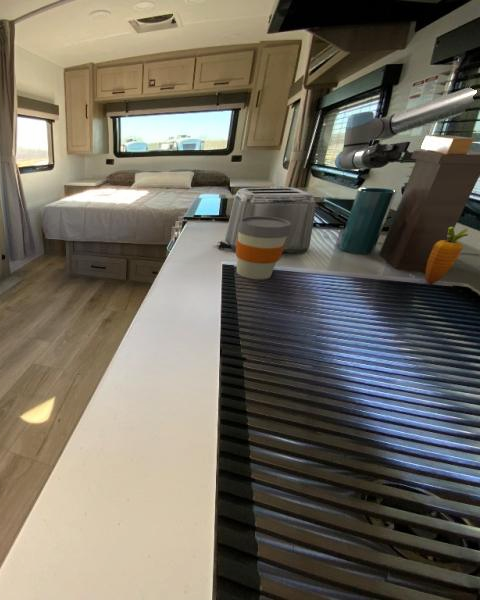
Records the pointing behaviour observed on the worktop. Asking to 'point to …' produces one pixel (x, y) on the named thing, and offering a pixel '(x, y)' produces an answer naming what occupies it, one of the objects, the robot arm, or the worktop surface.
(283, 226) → the reusable coffee cup
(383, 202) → the tall cup
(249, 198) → the toaster
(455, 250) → the carrot
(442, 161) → the walnut stand
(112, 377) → the worktop surface
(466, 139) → the oak bar
